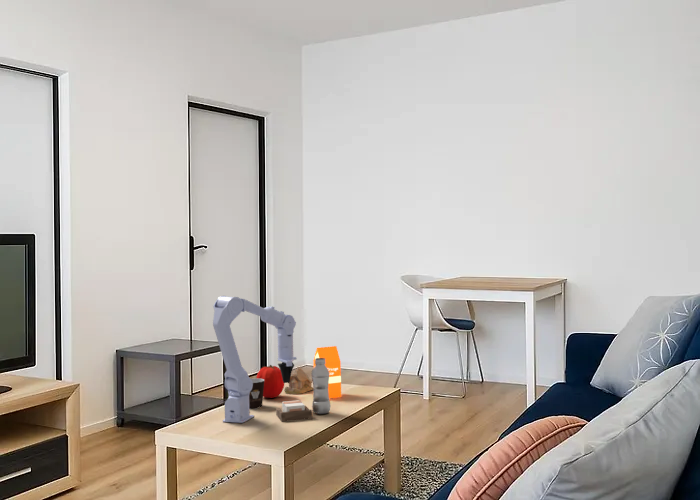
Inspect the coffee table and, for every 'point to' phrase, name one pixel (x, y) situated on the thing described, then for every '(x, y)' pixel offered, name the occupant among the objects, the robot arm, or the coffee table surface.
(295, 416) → the display stand
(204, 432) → the coffee table surface
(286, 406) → the carton
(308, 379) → the ceramic model
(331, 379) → the orange juice
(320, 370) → the plastic bottle
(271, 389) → the red bell pepper
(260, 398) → the coffee mug
